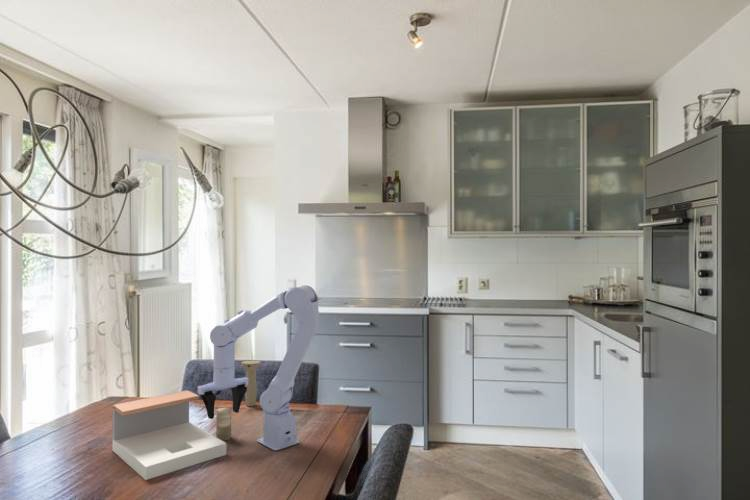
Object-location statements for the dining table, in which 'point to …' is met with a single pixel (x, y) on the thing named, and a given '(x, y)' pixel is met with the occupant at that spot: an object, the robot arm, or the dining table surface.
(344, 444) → the dining table surface
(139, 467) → the station
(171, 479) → the dining table surface
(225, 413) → the peg
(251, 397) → the handle
